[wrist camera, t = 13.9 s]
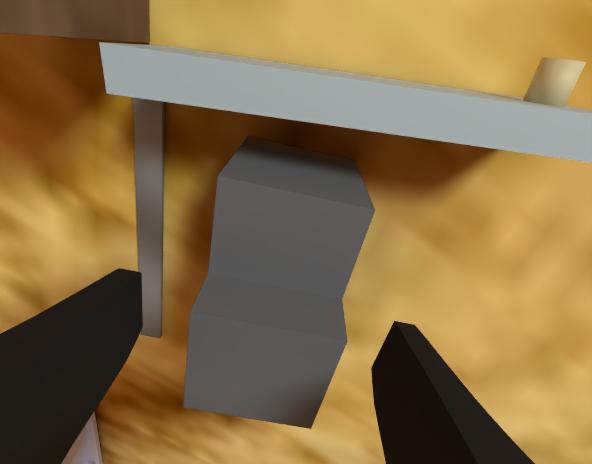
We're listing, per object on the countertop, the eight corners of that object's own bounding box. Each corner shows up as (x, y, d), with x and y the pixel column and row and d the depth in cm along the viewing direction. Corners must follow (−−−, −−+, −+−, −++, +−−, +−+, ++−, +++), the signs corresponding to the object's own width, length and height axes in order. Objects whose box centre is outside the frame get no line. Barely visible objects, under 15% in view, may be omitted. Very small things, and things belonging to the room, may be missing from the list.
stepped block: (310, 300, 15) (310, 428, 10) (227, 284, 15) (183, 407, 10) (354, 159, 12) (388, 242, 7) (248, 135, 12) (197, 202, 6)
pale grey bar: (171, 81, 11) (106, 93, 7) (167, 7, 10) (90, -18, 6) (528, 132, 11) (624, 167, 7) (559, 66, 10) (685, 72, 7)
